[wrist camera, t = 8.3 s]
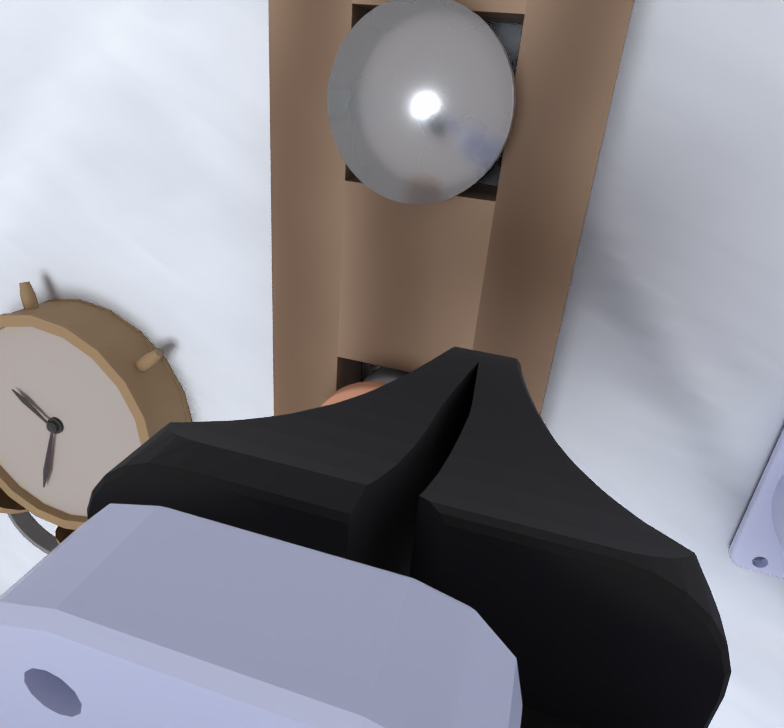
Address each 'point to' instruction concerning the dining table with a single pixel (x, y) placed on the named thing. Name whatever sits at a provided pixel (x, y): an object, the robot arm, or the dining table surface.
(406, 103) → the silver metal dome
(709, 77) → the dining table surface
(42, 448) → the alarm clock
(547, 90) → the button panel
